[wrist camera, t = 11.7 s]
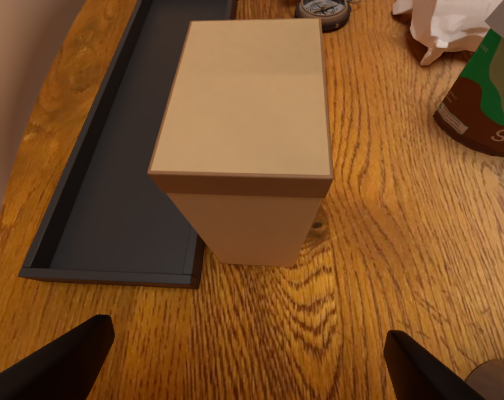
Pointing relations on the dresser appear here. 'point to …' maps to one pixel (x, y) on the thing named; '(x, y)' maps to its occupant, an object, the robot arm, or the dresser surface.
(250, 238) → the packet
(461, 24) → the white bird figurine
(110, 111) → the tray
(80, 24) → the dresser surface
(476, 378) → the cylinder
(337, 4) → the compass
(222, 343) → the dresser surface
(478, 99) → the food container
